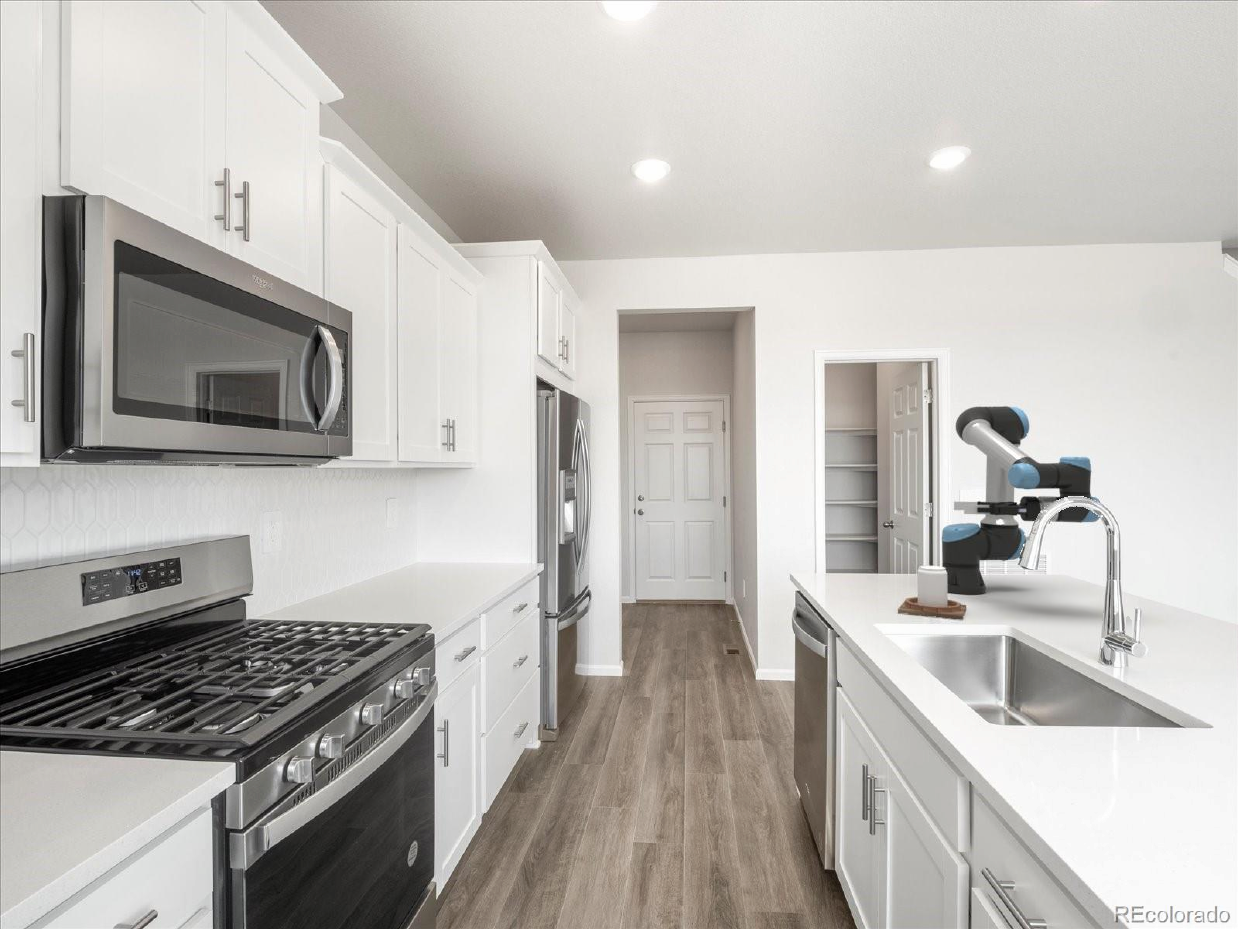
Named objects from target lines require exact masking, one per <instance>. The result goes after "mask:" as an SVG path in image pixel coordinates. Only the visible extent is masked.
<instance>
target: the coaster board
mask: <svg viewBox="0 0 1238 929" xmlns="http://www.w3.org/2000/svg"><path fill="white" fill-rule="evenodd" d="M966 612H967V604H963V603H960V602H958V601H956V600H952V599H948V606H947V607H934V606H924V605H919V604H918V596H914V597H908V598H905V599H904V601H903V602H902V604H901V605H900V606H899V607H898V608H897V614H900V613H908V614H907V615H910V614H914V615H913V616H919V615H921V616H920V617H928V616H936V617H935V618H938V617H945V618H944V619H947V618H951V619H950V620H956V619H963V620H964V617H965V614H966ZM964 613H965V614H964ZM963 616H964V617H963Z"/></svg>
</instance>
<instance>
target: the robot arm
mask: <svg viewBox="0 0 1238 929" xmlns="http://www.w3.org/2000/svg"><path fill="white" fill-rule="evenodd" d="M955 431H956V434H957V437H959V438H960V440H962V441H963V442H964V443H965V444H967V445H970V446H974V447H976V448H977V449H978V450H979V451H980V452H981V453H983V454H984V455H985V456H986V467H985V468H986V470H985V473H986V474H985V475H986V477H985V479H986V480H985V481H986V482H985V501H980V500H979V501H953V511H963V514H964V515H985V516H984V517H983V518H982V519H981V520H980V521H979V522H980V525H979V524H978V523H974V522H972V523H971V522H966V523H954V524H953V523H952V524H949V525H946V526H944V527H943V528H942V532H941V553H942V554H941V555H942V556H941V560H942V564H941V567H944V568H945V570H946V571H947V593H950V592H952V593H951V594H959V595H960V594H961V595H981V594H985V593H987V590H986V583H985V581H984V578H983V575H982V572H981V570H980V567H981V566H980V563H981V562H980V561H1002V562H1006V561H1012V560H1017V559H1019V558H1020V557H1021V556H1020V552H1021V550H1022V548H1023V544H1024V541H1025V540H1026V541H1027V535H1025V531H1024V530H1023V529H1022V528H1021V527H1019V522H1018V521H1017V520H1016V519H1015V518H1014V516H1018V515H1019V516H1020V518H1021V520H1022V521H1024V522H1036V521H1035V520H1036V518H1037V516H1038V514H1039V513H1040V511H1041V510H1043V509H1044V507H1047V505H1049V504H1050V503H1053V502H1054V501H1056V500H1059V499H1061V498H1064V497H1068V496H1084V497H1087V498H1090V499H1092V500H1096V501H1098V502H1099V503H1101V501H1100V499H1099V498H1097V497H1095V496H1092V495H1091V481H1092V480H1091V478H1092V476H1091V475H1092V465H1091V460H1090V458H1089V457H1087V456H1061V457H1059V462H1053V463H1052V462H1051V463H1050V462H1049V463H1044V462H1043V463H1040V462H1038V461H1036V460H1035V459H1034V458H1032V457H1031V456H1029V455H1028V454H1027V453H1025V452H1024V451H1022V450H1021V449H1020V448H1019V447H1020V446H1021V441H1022V440H1024V439H1025V438H1026V437H1028V434H1029V431H1030V422H1029V418H1028V416H1027V413H1026V412H1024V410H1022V408H1019V407H1017V406H1016V407H1015V406H1007V405H1005V406H974V407H973V406H972V407H970V408H967V409H965V410H963V412H961V413H960V414H959V415H958V417H957V418H956V422H955ZM1015 489H1023V490H1037V489H1038V490H1039V489H1040V490H1043V489H1048V490H1050V489H1051V490H1052V489H1054V490H1055V489H1058V491H1059V496H1050V495H1049V496H1045V495H1044V496H1042V495H1040V496H1038V497H1037V496H1033V495H1032V496H1031V495H1028V496H1027V495H1025V496H1024V495H1023V496H1022V497H1021V498H1020V500H1019V501H1020V502H1019V503H1018V502H1016V501H1015ZM1100 518H1101V516H1100V517H1098V515H1096V514H1095V513H1093V512H1092V511H1091V510H1088V509H1086V508H1084V507H1077V506H1076V507H1069V508H1066V509H1064V510H1061V511H1060V512H1058V513H1056V514H1055V515H1054V516H1053V517H1052V518H1051V519H1050V521H1049V523H1048V525H1049V524H1051V522H1054V523H1055V522H1056V523H1057V522H1059V523H1095V522H1097V521H1099V519H1100Z"/></svg>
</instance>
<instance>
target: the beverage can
mask: <svg viewBox="0 0 1238 929" xmlns="http://www.w3.org/2000/svg"><path fill="white" fill-rule="evenodd" d="M917 597H918V604H919V605H924V606H934V607H947V606H948V600H949V599H948V592H947V571H946V570H945V568H944V567H942V566H940V565H920V566H919V567H918V569H917Z"/></svg>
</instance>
